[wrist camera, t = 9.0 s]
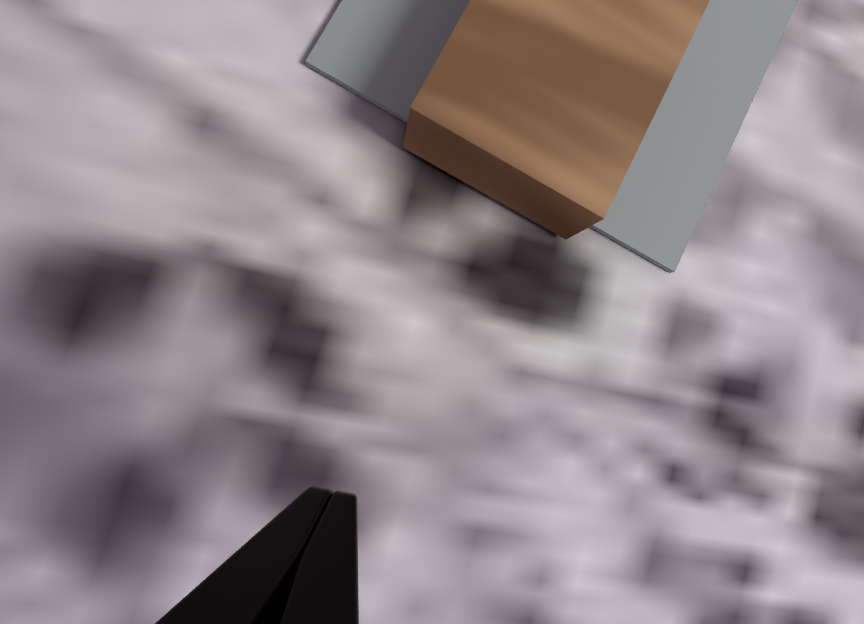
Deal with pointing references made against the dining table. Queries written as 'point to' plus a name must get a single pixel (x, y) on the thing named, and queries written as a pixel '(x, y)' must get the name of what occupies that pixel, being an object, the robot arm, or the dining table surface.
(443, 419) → the dining table surface
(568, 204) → the walnut block
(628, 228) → the mat
